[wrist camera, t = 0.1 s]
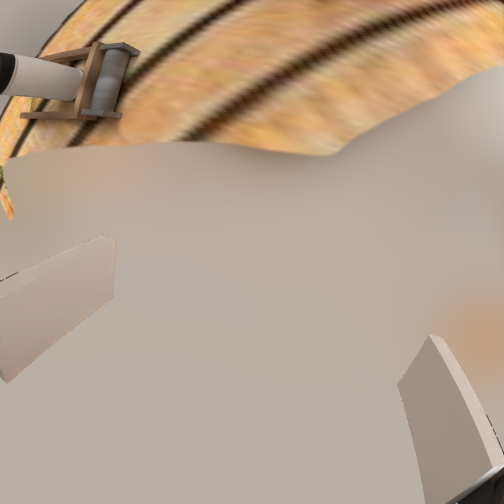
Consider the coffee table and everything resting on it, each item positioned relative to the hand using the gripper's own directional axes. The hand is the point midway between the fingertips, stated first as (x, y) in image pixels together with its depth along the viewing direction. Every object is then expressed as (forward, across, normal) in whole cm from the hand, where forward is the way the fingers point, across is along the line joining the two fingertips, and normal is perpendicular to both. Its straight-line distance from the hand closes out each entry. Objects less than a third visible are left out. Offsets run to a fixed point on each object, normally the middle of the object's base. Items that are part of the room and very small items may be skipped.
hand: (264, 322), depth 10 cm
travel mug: (+28, -42, +13) cm, 53 cm away
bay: (+28, -42, +13) cm, 53 cm away
